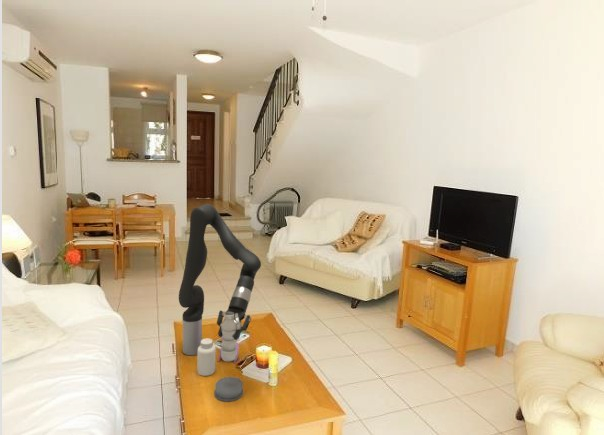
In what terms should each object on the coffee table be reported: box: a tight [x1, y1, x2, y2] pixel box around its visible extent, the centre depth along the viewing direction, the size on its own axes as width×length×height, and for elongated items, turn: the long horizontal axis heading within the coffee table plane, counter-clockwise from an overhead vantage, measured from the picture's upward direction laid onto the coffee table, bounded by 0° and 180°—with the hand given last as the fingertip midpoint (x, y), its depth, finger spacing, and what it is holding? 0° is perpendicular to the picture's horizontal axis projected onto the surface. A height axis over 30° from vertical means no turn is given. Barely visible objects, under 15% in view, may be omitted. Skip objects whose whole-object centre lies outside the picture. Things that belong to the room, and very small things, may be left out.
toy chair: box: [217, 338, 240, 364], centre depth 198 cm, size 8×9×15 cm
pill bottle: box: [196, 337, 217, 377], centre depth 187 cm, size 8×8×15 cm
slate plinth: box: [213, 376, 244, 403], centre depth 172 cm, size 12×12×4 cm
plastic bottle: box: [220, 311, 238, 362], centre depth 168 cm, size 6×7×20 cm
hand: (227, 337), depth 167 cm, fingers closed on plastic bottle, 6 cm apart
